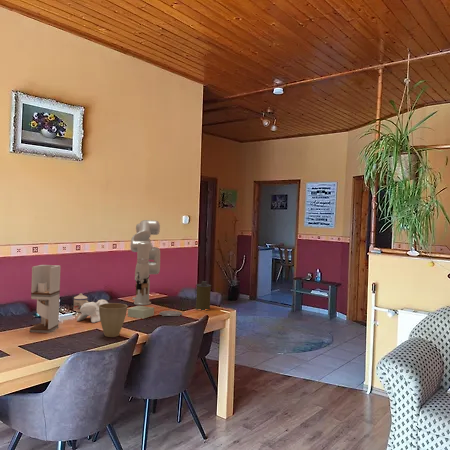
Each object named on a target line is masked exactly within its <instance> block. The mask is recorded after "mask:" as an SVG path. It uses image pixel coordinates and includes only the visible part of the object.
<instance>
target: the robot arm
mask: <svg viewBox="0 0 450 450" xmlns="http://www.w3.org/2000/svg"><path fill="white" fill-rule="evenodd" d="M160 224H161V223H160V222H159V221H158V220H154V219H151V220H150V219H144V220H141V221H140V222H139V223H137V224H136V226H135V231H136V233H135V234H134V235H132V237H131V240H130V250H131V252H133V253H136V254H137V256H136V257H137V258H136V265H135V270H134V280H135V284H137V290H138V295H136V294H135V296H133V297H132V298H131V300H132V301H133V304H134V305H135V306H148V305H151V304H152V302H151V301H150V287H151V286H150V285H151V284H150V283H151V282H150V281H151V280H150V276H151V275H159V274H160V271H161V249H160V248H159V247H157V246H153V243H152V242H151V239H150V238H151V236H152V235H153V236H157V235H159V234H160V230H161V225H160ZM150 260H151V261H150ZM141 283H148V284H149V286H148V294H146V288H144V295H143V296H142V293H140V290H141Z"/></svg>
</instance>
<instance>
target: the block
mask: <svg viewBox="0 0 450 450" xmlns="http://www.w3.org/2000/svg"><path fill="white" fill-rule="evenodd" d="M154 315H155V307H153V306H151V307H150V306H146V305H135V306H133V307H132V306H131V307H129V308H127V317H128V318H129V317H130V318H137V319H141V318H142V319H147V318H149V317H153V316H154Z"/></svg>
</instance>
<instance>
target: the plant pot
mask: <svg viewBox="0 0 450 450" xmlns="http://www.w3.org/2000/svg"><path fill="white" fill-rule="evenodd" d="M127 312H128V305H127V304H126V303H125V304H124V303H117V302H108V303H106V304H101V305H99V314H100V320H101V321H100V325H101V328H102V332H103V334H104V336H105V337H107V338H115V337H119V335H120V333H121V331H122V329H123V325H124V322H125V318H126V315H127Z"/></svg>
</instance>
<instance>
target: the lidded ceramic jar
mask: <svg viewBox="0 0 450 450" xmlns="http://www.w3.org/2000/svg"><path fill="white" fill-rule="evenodd" d="M89 302H90V301H88V296H86V295H83V293H79V294H78V295H76V296H74V297H73V309H72V310H74V311H76V312H75V313H81V311H80V308H81V306H82V305H83V304H84V303H89ZM74 311H73V312H74Z"/></svg>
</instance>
